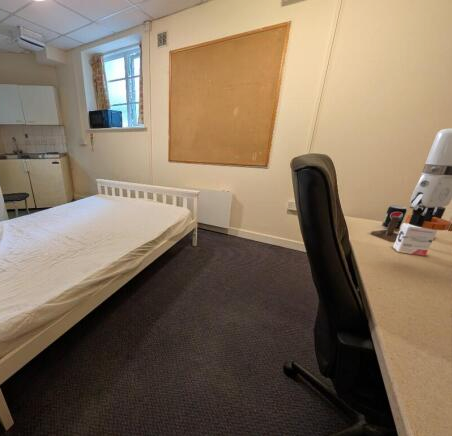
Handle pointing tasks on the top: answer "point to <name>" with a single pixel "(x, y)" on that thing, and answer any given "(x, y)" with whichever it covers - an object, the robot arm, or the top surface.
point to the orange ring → (434, 223)
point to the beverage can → (394, 211)
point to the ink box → (414, 239)
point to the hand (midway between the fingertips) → (418, 224)
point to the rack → (388, 231)
